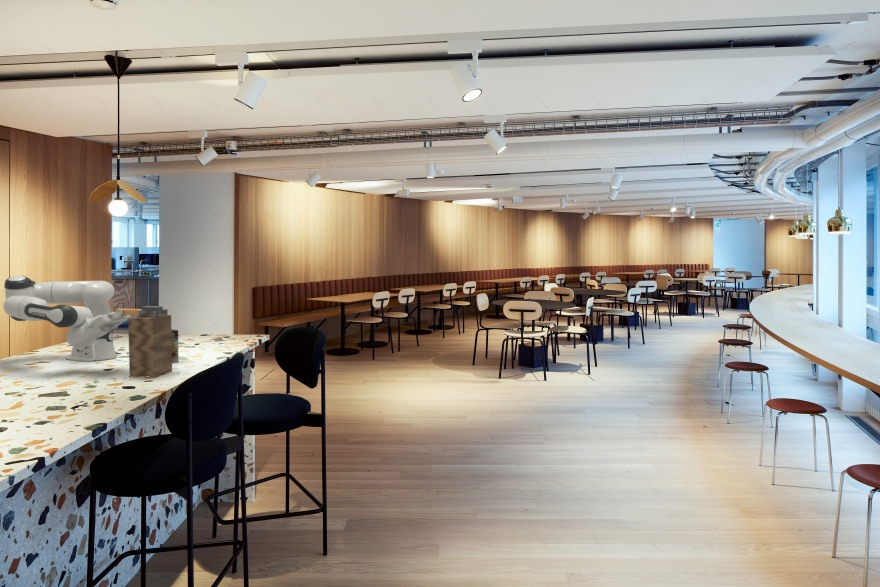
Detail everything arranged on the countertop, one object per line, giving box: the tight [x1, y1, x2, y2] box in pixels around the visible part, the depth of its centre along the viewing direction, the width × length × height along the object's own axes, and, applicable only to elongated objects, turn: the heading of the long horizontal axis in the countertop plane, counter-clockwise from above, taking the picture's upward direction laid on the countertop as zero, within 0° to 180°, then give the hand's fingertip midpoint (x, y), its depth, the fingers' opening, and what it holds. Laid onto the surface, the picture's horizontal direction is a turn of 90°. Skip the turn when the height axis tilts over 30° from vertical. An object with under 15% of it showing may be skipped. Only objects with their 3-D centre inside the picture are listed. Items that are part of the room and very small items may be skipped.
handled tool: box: [115, 305, 164, 317], centre depth 269 cm, size 20×5×4 cm, turn 86°
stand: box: [127, 308, 173, 378], centre depth 270 cm, size 12×14×29 cm
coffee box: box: [171, 328, 180, 364], centre depth 296 cm, size 9×6×16 cm
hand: (125, 310), depth 270 cm, fingers closed on handled tool, 3 cm apart
